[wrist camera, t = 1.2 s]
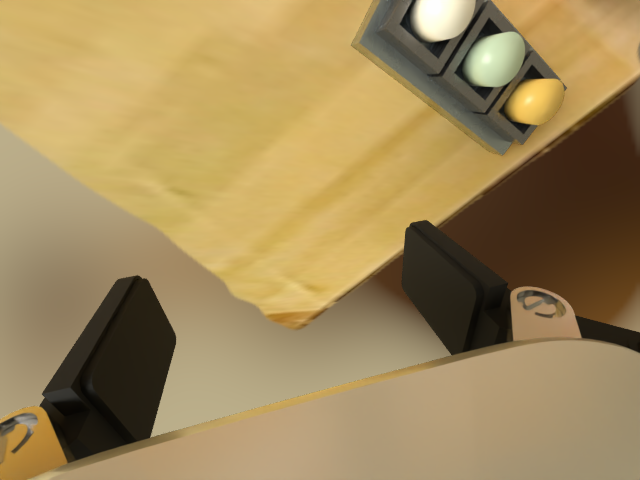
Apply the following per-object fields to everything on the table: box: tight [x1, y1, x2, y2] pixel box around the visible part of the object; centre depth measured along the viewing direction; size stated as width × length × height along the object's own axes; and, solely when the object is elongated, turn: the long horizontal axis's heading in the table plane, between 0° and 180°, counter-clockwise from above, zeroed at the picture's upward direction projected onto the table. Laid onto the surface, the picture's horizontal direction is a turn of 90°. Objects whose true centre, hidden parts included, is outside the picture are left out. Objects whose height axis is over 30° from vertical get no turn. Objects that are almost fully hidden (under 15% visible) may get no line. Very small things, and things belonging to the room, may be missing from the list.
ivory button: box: [410, 0, 476, 43], centre depth 25 cm, size 4×4×3 cm
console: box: [351, 0, 567, 155], centre depth 31 cm, size 10×24×5 cm, turn 61°
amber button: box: [504, 79, 564, 125], centre depth 31 cm, size 4×4×3 cm
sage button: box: [462, 32, 525, 87], centre depth 28 cm, size 4×4×3 cm
